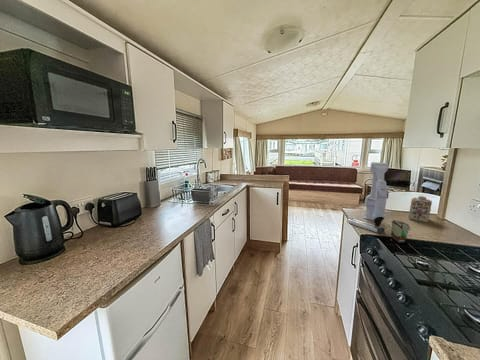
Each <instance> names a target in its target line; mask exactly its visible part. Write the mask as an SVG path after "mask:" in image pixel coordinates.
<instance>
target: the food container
mask: <svg viewBox="0 0 480 360" xmlns="http://www.w3.org/2000/svg"><path fill="white" fill-rule="evenodd" d="M409 231H411V226H410V224H408V223H406V222H404V221H402V220H401V221H400V220H397V219H396V220H395V219H394V220H393V219H392V221H391V232H390V237H392V238H393V239H394V240H395V241H396V242H398V243H400V244H402V243H406V240H407V238H408V237H407V236H408V234H409Z"/></svg>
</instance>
